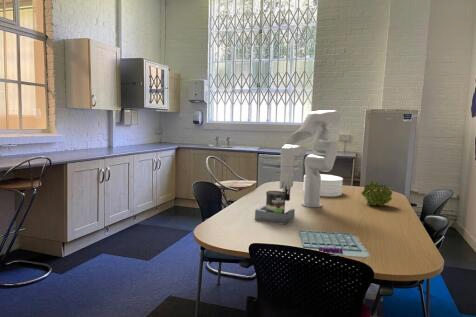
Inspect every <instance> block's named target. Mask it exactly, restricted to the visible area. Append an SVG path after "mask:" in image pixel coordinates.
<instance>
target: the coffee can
mask: <svg viewBox="0 0 476 317" xmlns="http://www.w3.org/2000/svg"><path fill="white" fill-rule="evenodd" d="M265 193H266V194H265V195H266V197H265V205H266V211H271V212H277V213H283V214H285V213H286V209H285V208H286V201H285V195H286V193H285V192H283V190H282V191H280V190H267V191H266V192H265Z"/></svg>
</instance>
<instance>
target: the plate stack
mask: <svg viewBox="0 0 476 317" xmlns="http://www.w3.org/2000/svg"><path fill="white" fill-rule="evenodd" d="M320 176H321V187H320V197H339V196H342V194H343V180H344V178H343V177H341V176H337V175H333V174H324V173H323V174H321V173H320ZM302 186H303V187H302V188H303V189H302V192H303V193H304V192H305V174H304V175H303V185H302Z"/></svg>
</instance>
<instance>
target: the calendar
mask: <svg viewBox="0 0 476 317" xmlns="http://www.w3.org/2000/svg"><path fill="white" fill-rule="evenodd" d="M298 233H299V238H300V241H301V244H302V249H303V248H308V249H314V250H319V251H323V252H327V253H332V254H335V255H334V256H337V255H340V256H339V257H354V258H369V259H372V258H373V257H371V256H372V254H370V252H368V249H367V248H365V247H366V245H363V244H364V243H363V242H360V241H361V239H359V236H357V235H354V234H351V233H350V232H335V231H322V230H320V231H318V230H305V229H304V230H303V229H302V230H301V229H299V230H298Z"/></svg>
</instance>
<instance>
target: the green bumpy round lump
mask: <svg viewBox="0 0 476 317" xmlns="http://www.w3.org/2000/svg"><path fill="white" fill-rule="evenodd" d="M360 193H361V195H362V196H363V197H364V199H366V203H367V205H370V206H372V205H373V206H376V205H377V206H379V207H383V206H384V205H385V204H389V203H390V201H392V200H393V197H392V196H393V191H391V187H388V186H387V185H386V184H385V185H384V184H383V183H381V184H379V182H376V183H375V182H374V181H372V180H370V182H369V184H367V185H364V188H363V191H361V192H360Z"/></svg>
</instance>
